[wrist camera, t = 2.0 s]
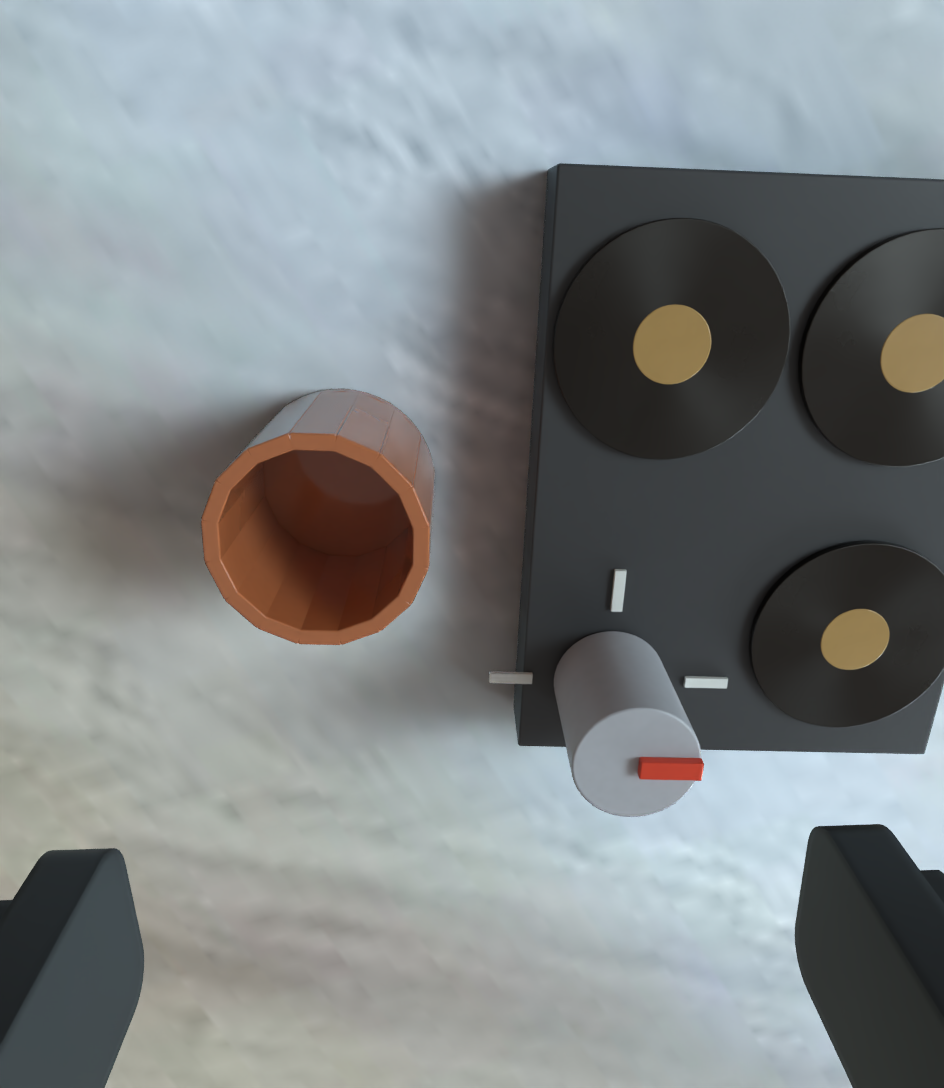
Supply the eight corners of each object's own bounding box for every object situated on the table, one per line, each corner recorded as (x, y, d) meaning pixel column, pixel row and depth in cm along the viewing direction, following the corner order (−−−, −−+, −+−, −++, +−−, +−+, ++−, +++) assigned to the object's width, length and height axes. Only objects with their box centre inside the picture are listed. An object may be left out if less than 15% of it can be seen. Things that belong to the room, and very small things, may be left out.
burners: (526, 716, 28) (526, 721, 28) (561, 212, 22) (563, 212, 22) (927, 725, 28) (932, 730, 28) (1061, 232, 23) (1069, 232, 22)
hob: (481, 734, 31) (484, 778, 29) (509, 167, 24) (515, 160, 22) (882, 742, 32) (919, 786, 29) (1022, 188, 25) (1085, 184, 22)
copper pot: (258, 559, 28) (210, 642, 23) (248, 385, 26) (192, 429, 21) (433, 564, 29) (427, 647, 23) (436, 391, 26) (431, 437, 21)
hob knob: (549, 725, 28) (567, 823, 23) (557, 629, 27) (578, 712, 22) (656, 727, 28) (695, 826, 24) (669, 631, 27) (713, 715, 22)
